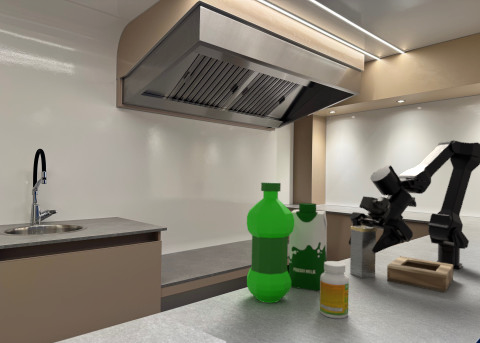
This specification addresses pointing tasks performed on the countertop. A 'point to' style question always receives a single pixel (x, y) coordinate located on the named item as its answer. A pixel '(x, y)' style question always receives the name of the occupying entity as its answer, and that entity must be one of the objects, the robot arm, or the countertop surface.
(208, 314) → the countertop surface
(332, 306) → the supplement bottle
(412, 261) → the caddy
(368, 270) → the tea canister
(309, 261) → the milk carton
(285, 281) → the plastic bottle
